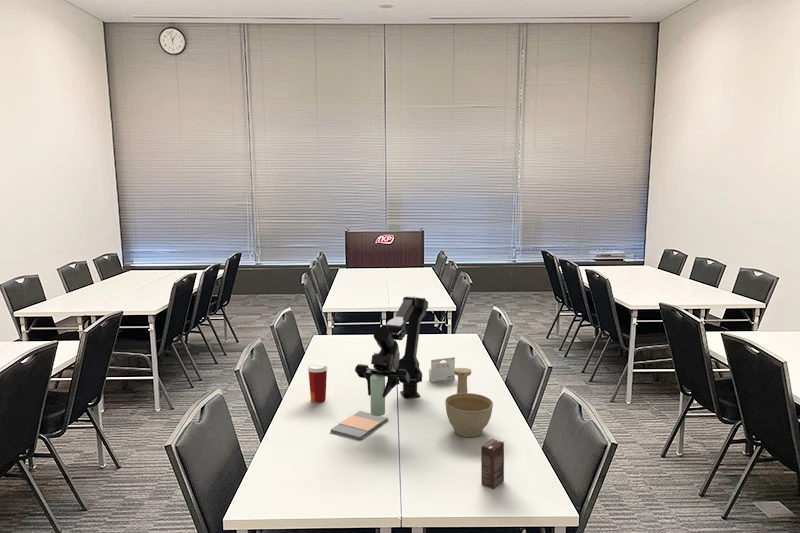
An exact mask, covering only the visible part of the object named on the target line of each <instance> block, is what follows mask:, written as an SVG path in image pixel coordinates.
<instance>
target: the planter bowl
mask: <svg viewBox="0 0 800 533" xmlns="http://www.w3.org/2000/svg"><path fill="white" fill-rule="evenodd" d="M444 404H445V412H446V416H447V419H448V421H449V423H450V424H451V426H452V428H453V430H454V433H455V434H456V435H458V436H461V437H465V438H474V437H475V438H476V437H478V436H480V435H482V433H483V430H484V429H485V428H486V427H487V425H488V423H489V422H490V419H491V417H492V413H493V407H494V403H493V400H492V399H491V398H489V397H488V396H485V395H482V394H478V393H471V392H467V393H459V394H457V393H454V394H451V395H449V396H447V397H446V398H445V401H444Z"/></svg>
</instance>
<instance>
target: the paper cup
mask: <svg viewBox="0 0 800 533" xmlns="http://www.w3.org/2000/svg"><path fill="white" fill-rule="evenodd" d="M307 371H308V382H309V394H310V395H309V396H310V401H311V403H313V404H321V403H324V402H325V401H326V398H327V397H326V395H327V374H328V373H327V372H328V366H327V364H325V363H321V362H314V363H311V364H309V365H308V367H307Z"/></svg>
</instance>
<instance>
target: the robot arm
mask: <svg viewBox="0 0 800 533" xmlns="http://www.w3.org/2000/svg"><path fill="white" fill-rule="evenodd" d="M428 309H429V301H428V300H427V299H426V297H416V296H411V295H405V296H403V298H402V303H401V304H400V307H399V308H398V310H397V312H396V314H395V315H394V317H393V318H391V319H389V320H388V321H387V323H386V324H382V325H381V327H378V328H377V329H376V330H375V331H374V332H373V338H374V340H375V342H376V344H377V345H378V347H379V348H380V350H379V352H380V354H378V355H374V354H372V356H371V360H370V365H373V368H370V367H369V365H368V364H361V363H358V364H357V365H356V366H355V369H354V372H355V374H357V376H358V378H361V379H366V384H367V395H368V396H369V397H371V391H370V377H371V376H372V375H377V374H379V375H384V376H385V378H386V377H387V381H386V383H385V390H384V393H383V398H385V399H386V397H387V396H388V394H389V393H390V392H391V391H392V390H393V389H394V388H395V387H396V386H397V385H400V383H401V384H402V390H400V394H401V396H402V397H403V398H404V399H411V398H418V397H421V394H420V393H419V392H418V383H421V382H423V373H422V371H421V369H420V362H419V359H418V358H417V354H418V346H419V338H420V330H421V322H422V320H423V318H424V317H425V316H426V314H427V310H428ZM407 323H408V326H407V328H406V324H407ZM404 338H406V340H405V341H406V342H405V348H404V355H403V356H402V357H401V358H400V360H399V366H398V368H395V371H393V369H394V368H393V365H395V361H394V360H395V357H396V353H397V350H399V351H400V349H399V347H400V346H399V344H398V341H402V340H404ZM374 368H375V369H374Z"/></svg>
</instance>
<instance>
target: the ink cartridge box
mask: <svg viewBox="0 0 800 533" xmlns="http://www.w3.org/2000/svg"><path fill="white" fill-rule="evenodd" d="M442 361H446V362H442ZM430 362H431V363H430V368H429V369H428V380H429V382H439V381H450V380H455V379H456V375H455V374H454V369H455V368H456V367H455V364H456V357H447V358H439V359H438V358H436V359H431V360H430Z"/></svg>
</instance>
